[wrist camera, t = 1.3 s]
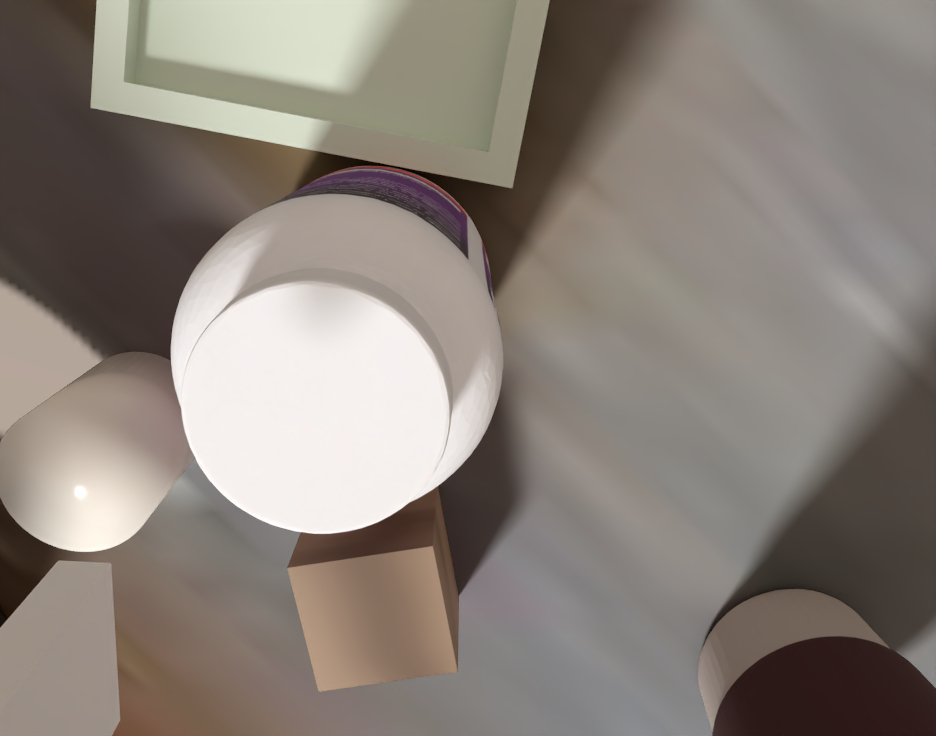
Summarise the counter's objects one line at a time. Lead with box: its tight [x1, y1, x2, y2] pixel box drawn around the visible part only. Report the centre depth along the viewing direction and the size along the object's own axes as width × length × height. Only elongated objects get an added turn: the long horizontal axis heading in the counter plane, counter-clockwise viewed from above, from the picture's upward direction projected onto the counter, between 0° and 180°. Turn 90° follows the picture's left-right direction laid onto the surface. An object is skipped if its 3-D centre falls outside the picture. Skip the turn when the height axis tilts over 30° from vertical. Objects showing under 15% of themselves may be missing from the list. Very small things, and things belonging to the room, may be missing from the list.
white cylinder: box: [0, 352, 195, 552], centre depth 30 cm, size 5×5×6 cm
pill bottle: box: [171, 166, 503, 534], centre depth 24 cm, size 8×8×14 cm
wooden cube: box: [287, 486, 459, 692], centre depth 32 cm, size 5×5×5 cm
